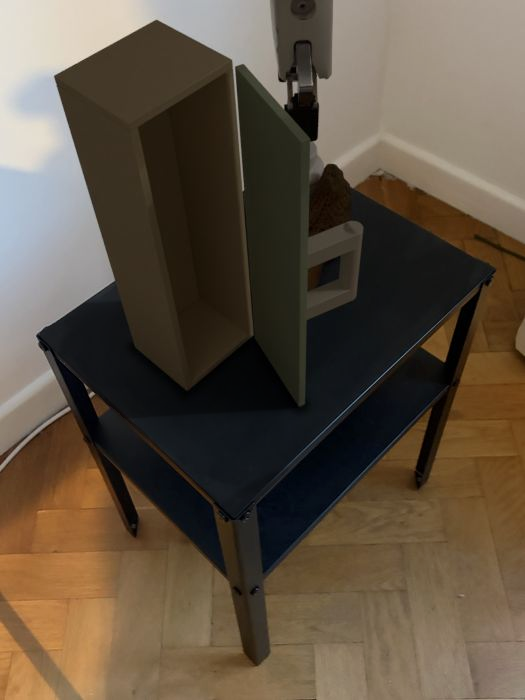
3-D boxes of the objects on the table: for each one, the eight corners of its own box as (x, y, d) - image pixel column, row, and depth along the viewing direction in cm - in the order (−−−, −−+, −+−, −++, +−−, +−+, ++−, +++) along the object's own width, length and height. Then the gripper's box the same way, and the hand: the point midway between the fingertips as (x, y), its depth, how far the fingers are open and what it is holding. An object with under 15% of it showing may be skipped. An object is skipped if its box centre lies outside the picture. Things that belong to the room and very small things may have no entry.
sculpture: (372, 172, 73) (260, 251, 68) (387, 256, 79) (286, 333, 74) (318, 155, 78) (210, 227, 73) (336, 235, 85) (239, 305, 80)
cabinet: (253, 335, 75) (232, 59, 50) (187, 391, 72) (127, 123, 46) (201, 295, 79) (156, 18, 54) (134, 347, 75) (53, 75, 50)
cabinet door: (309, 315, 77) (317, 39, 51) (356, 380, 72) (390, 109, 46) (254, 338, 75) (234, 66, 50) (298, 407, 70) (300, 142, 45)
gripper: (358, -18, 54) (344, 163, 68) (333, -118, 64) (325, 57, 78) (258, -12, 54) (264, 168, 68) (249, -114, 64) (256, 61, 78)
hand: (297, 109), depth 73 cm, fingers open, 9 cm apart
